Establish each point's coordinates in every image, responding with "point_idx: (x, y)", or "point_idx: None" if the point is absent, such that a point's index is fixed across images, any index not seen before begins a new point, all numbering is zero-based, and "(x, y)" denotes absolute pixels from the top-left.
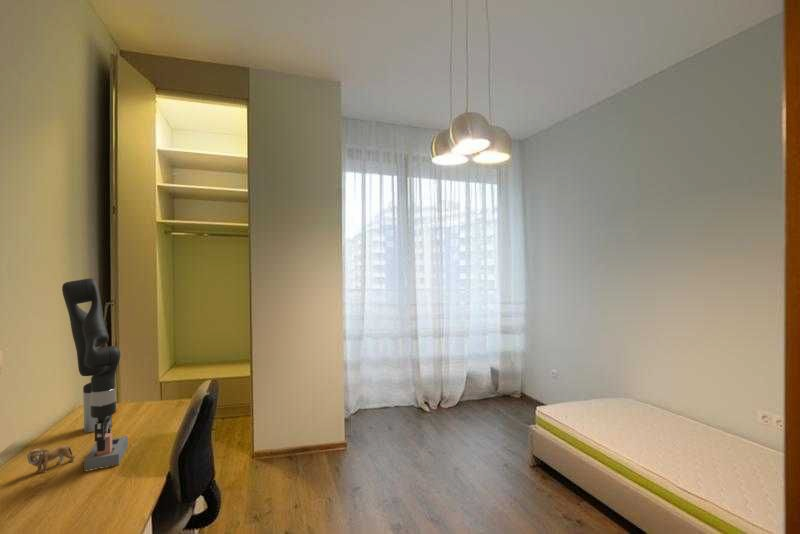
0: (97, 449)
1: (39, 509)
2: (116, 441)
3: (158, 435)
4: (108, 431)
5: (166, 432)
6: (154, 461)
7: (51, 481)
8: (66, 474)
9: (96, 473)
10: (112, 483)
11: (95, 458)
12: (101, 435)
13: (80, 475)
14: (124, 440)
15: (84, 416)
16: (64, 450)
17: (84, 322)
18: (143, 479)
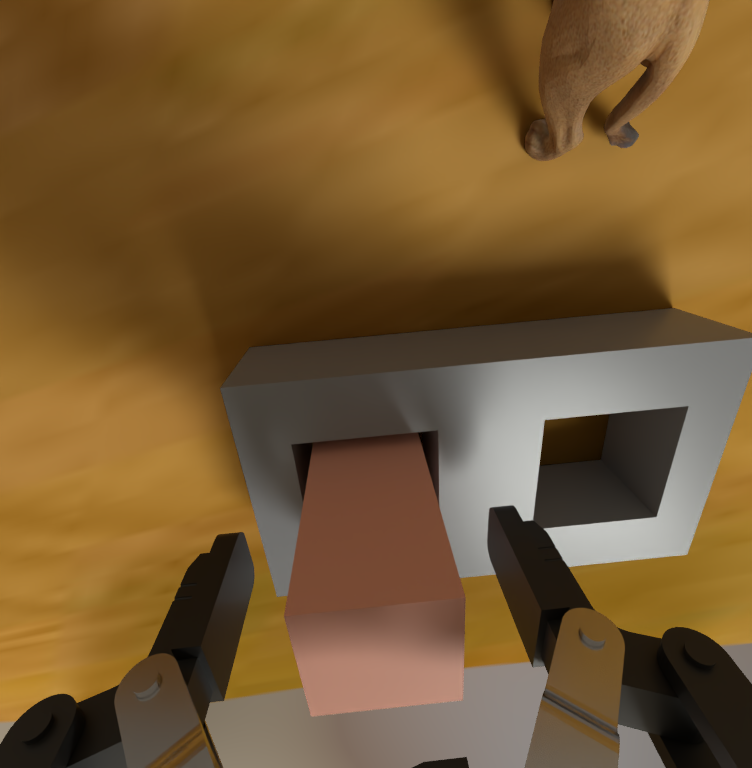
0: (213, 550)
1: None
2: (646, 484)
3: (689, 606)
4: (545, 658)
5: (708, 631)
6: (273, 663)
7: (112, 117)
8: (240, 210)
9: (193, 438)
10: (20, 563)
11: (243, 466)
12: (411, 632)
13: (186, 340)
14: (577, 561)
15: None
16: (578, 31)
17: None
18: (54, 668)
